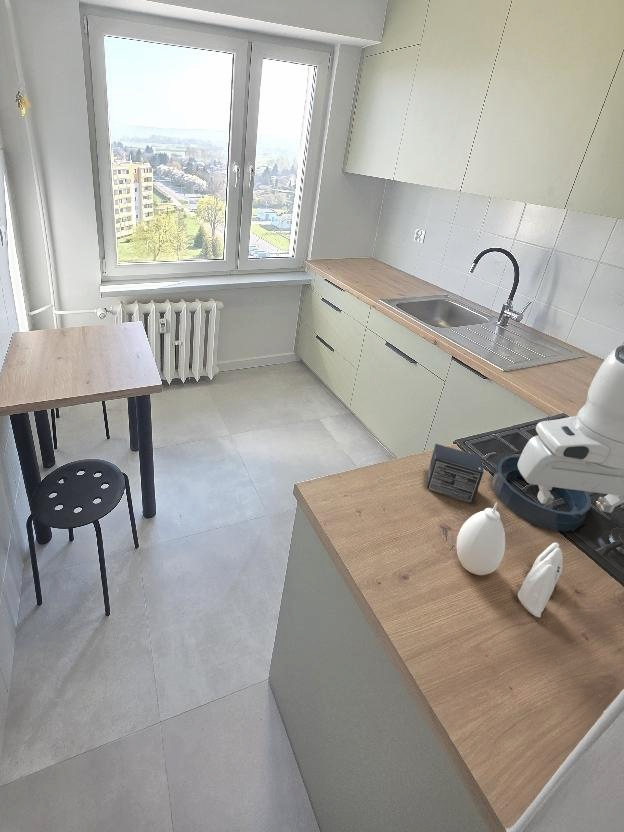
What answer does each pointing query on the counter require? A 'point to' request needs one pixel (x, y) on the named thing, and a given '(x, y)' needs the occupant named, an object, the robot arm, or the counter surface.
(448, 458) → the small box
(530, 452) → the robot arm
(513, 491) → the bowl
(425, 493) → the counter surface
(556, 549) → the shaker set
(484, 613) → the counter surface
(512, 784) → the counter surface
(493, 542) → the white bulb air blower
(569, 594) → the counter surface
